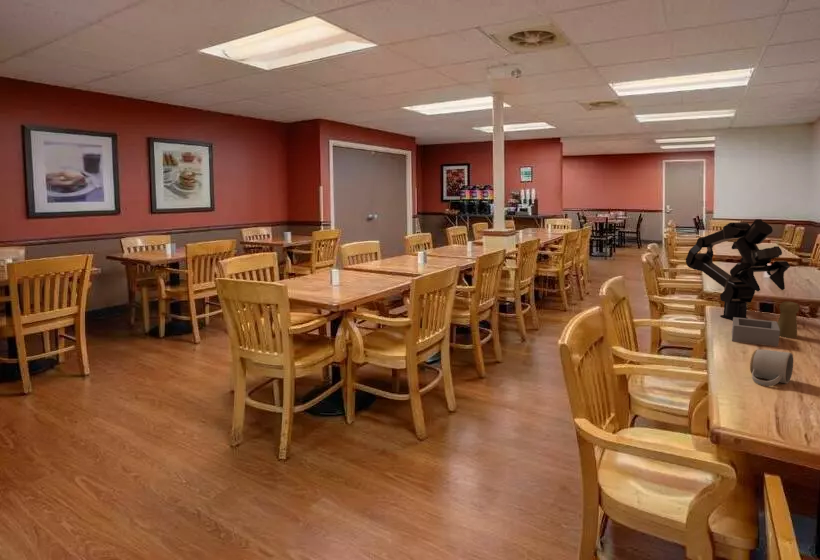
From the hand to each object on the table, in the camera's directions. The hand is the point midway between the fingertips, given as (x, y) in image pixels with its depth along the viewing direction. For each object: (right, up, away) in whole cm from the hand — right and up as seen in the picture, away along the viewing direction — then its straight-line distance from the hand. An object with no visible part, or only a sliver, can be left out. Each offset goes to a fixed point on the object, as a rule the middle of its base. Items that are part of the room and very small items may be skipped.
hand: (771, 290), depth 179 cm
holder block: (-11, -15, -8) cm, 20 cm away
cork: (+2, -15, -5) cm, 16 cm away
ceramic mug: (-29, -22, -43) cm, 56 cm away
